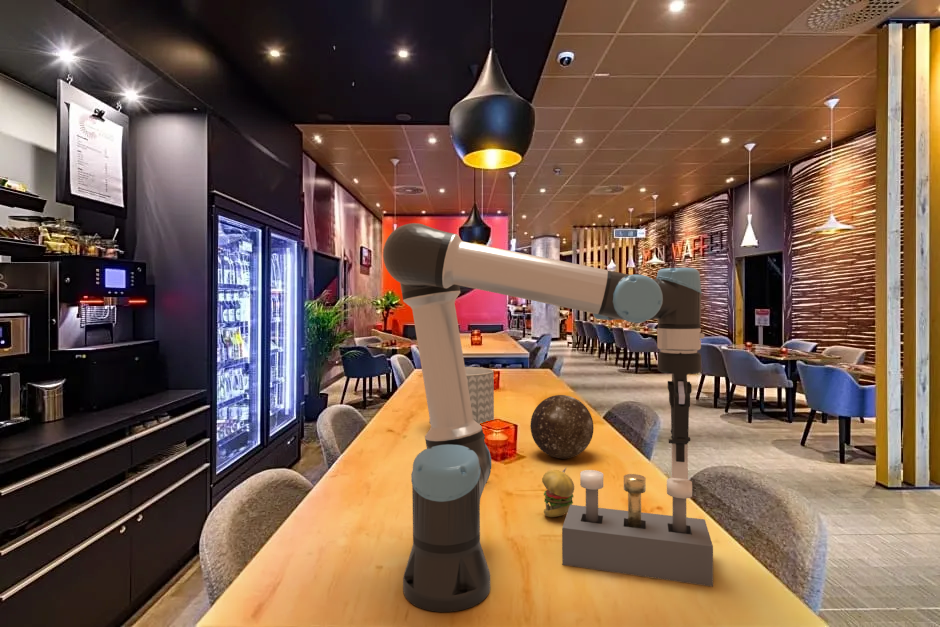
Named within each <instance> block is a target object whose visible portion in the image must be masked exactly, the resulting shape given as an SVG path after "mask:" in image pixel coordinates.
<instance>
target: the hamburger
mask: <svg viewBox="0 0 940 627" xmlns="http://www.w3.org/2000/svg"><path fill="white" fill-rule="evenodd" d="M567 468H568V467H567V466H566V467H565V468H564V469H563V470H560V469H559V470H558V469H550V470H548V471H546V472H545V473H544V474H543V477H542V478H541V480H542V481H541V483H542V484H543V486H544V487H545V490H544V493H543V496H544V500H543V501H544V503H545V509H543V513H544V515H545V516H546V517H548V518H556V517H557V518H558V517H561V516H564V515H565V514H566V515H567V512H568V510H569V507H570V505H573V504H574V501H573V499H574V491H575V483H574V480H573V479H572V478H571V477H570V476H569V475H568V474H567V473H566V470H567Z"/></svg>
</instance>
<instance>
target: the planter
mask: <svg viewBox="0 0 940 627" xmlns="http://www.w3.org/2000/svg"><path fill="white" fill-rule="evenodd" d="M465 371H466V377H467V383H468V390H469V396H470V402H471V408H472V414H473V419H474V420H475V421H476V422H477V423H478V424H480V423H483V422H486V421H490V420H494V421H495V406H494V405H495V399H494V398H495V393H494V392H495V391H494V390H495V388H494V386H495V385H494V380H495V379H494V375H495V374H494V370H493V369H492V368H487V367H475V366H473V367H472V366H465ZM429 424H430V425H431V423H430V422H429Z"/></svg>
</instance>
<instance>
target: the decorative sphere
mask: <svg viewBox="0 0 940 627" xmlns="http://www.w3.org/2000/svg"><path fill="white" fill-rule="evenodd" d="M529 427H530V432H531V437H532V439H533V441H534V443H535V445H536V446H537V448H539V449H540V450H541V452H543V453H545V454H546V455H548V456H549V457H553V458H557V459H571V458H575V457H576V456H578V455H580V454H582V453H583V452H584V451H585V450H586V449H587V448H588V447H589V445H590V444H591V441H592V438H593V435H594V420H593V417H592V415H591V413H590V410H589V409H588V408H587V407H586V405H585V404H584V403H583V402H581V401H580V400H579V399H576V398H575V397H573V396H570V395H565V394H556V395H552V396H549V397H547V398H545V399H544V400H542V401H541V402H539V403H538V404H537V406H536V407H535V408H534V411H533V412H532V415H531V418H530V426H529Z"/></svg>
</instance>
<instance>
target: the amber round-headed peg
mask: <svg viewBox="0 0 940 627" xmlns="http://www.w3.org/2000/svg"><path fill="white" fill-rule="evenodd" d="M646 489H647V488H646V477H645V476H644V475H641V474H638V473H637V474H636V473H628V474H624V475H623V491H625V492H627V511H628V527H632V528H641V512H642V494H645V492H646Z"/></svg>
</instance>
